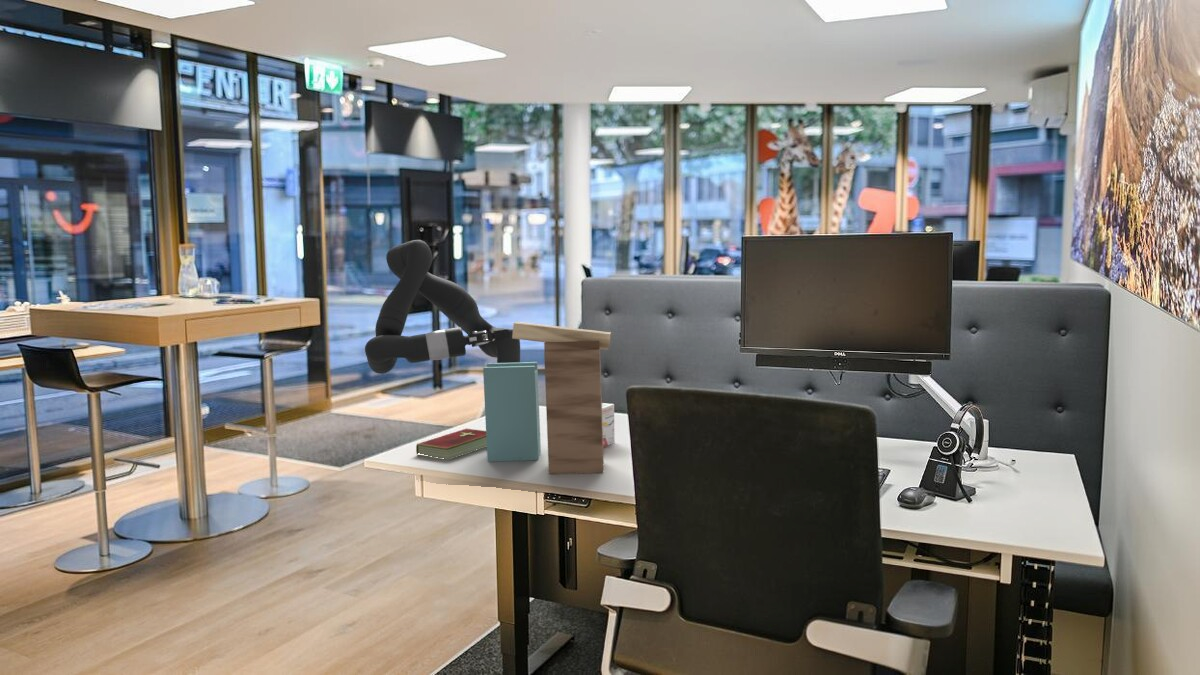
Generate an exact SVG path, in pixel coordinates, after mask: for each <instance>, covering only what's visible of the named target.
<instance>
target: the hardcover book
mask: <svg viewBox="0 0 1200 675" xmlns="http://www.w3.org/2000/svg"><path fill="white" fill-rule="evenodd" d="M485 446H487V441H486V430H482V429H474V428H473V429H472V428H468V427H467V428H463V429H461V430H457V431H455V432H450V433H448V434H444V435H441V436H439V437H435V438H432V439H428V440H426V441H422V442H418V443H416V446H415V448H416V449H415V450H416V451H415V452H416V455H417V454H418V453H420V454H424V455H428V456H432V457H438V458H444V459H450V460H452V459H451V458H453V459H455V458H454V457H456V456H459V455H461V456H463V455H462V454H464V455H466V454H465V453H467V454H469V453H468V452H470V453H472V452H471V451H473V452H475V451H474V450H476V449H479V448H482V447H484V448H486V447H485ZM482 449H483V448H482ZM479 450H480V449H479ZM476 451H477V450H476ZM459 457H460V456H459ZM456 458H457V457H456ZM444 459H443V460H444Z"/></svg>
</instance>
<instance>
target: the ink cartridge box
mask: <svg viewBox="0 0 1200 675" xmlns="http://www.w3.org/2000/svg"><path fill="white" fill-rule="evenodd" d="M602 425H603V448H606V447H608V446H610V444H611V445H614V444H615V439H616V438H615V434H616V433H615V432H616V431H615V404H614V403H605V402H602Z"/></svg>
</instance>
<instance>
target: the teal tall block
mask: <svg viewBox="0 0 1200 675" xmlns="http://www.w3.org/2000/svg"><path fill="white" fill-rule="evenodd" d="M538 370H539V369H538V361H530V362H529V361H528V362H526V361H525V362H524V361H522V362H521V361H520V363H497V362H489V363H486V366H483V368H482V371H483V372H482V374H483V376H482V377H483V395H484V398H483V399H484V415H485V416H484V417H485V431H486V441H487V447H486V455H487V456H486V457H487V458H486V459H487V462H513V461H517V462H518V461H519V462H520V461H539V460H538V459H540V457H539V456H541V454H540V453H542V450H541V447H542V446H541V421H540V420H541V419H540V402H539V401H540V400H539V399H540V397H539V396H540V394H539V375H538V372H539V371H538Z"/></svg>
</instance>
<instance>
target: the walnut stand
mask: <svg viewBox="0 0 1200 675" xmlns="http://www.w3.org/2000/svg"><path fill="white" fill-rule="evenodd" d="M543 344H544V345H543V346H544V348H543V349H544V351H543V352H544V353H543V354H544V355H543V356H544V380H545V381H544V382H545V408H546V432H547V434H546V435H547V436H546V437H547V458H548V459H547V461H548V462H547V463H548V474H549V475H565V474H566V473H575V474H596V473H595V472H603V473H604V465H603V464H605V463H604V462H605V461H604V447H603V425H602V403H603V400H602V396H603V395H602V393H603V392H602V365H601V364H602V362H601V361H602V360H601V349H600V348H599V341H576V342H543Z"/></svg>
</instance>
